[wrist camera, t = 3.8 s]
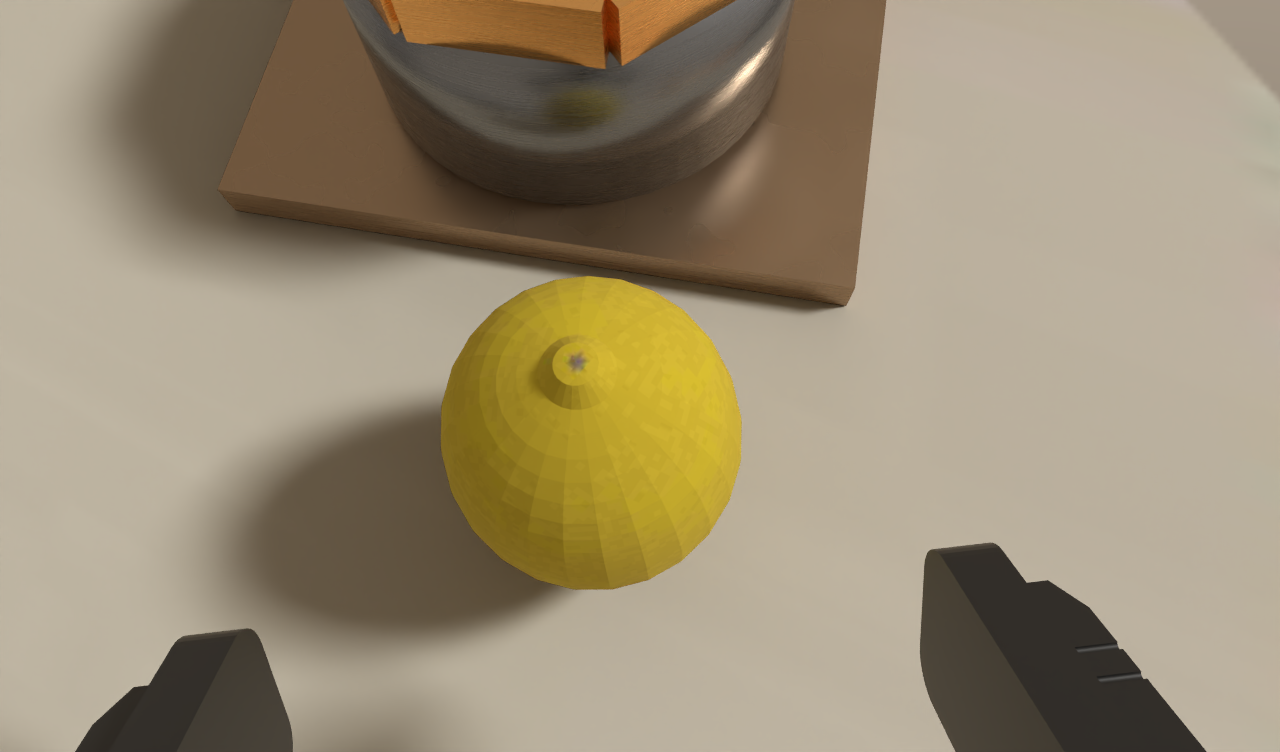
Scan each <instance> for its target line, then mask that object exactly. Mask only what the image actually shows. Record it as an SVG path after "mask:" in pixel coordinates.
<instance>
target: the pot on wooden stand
mask: <svg viewBox="0 0 1280 752" xmlns="http://www.w3.org/2000/svg"><path fill="white" fill-rule="evenodd" d="M885 7H886V0H293V2H292V5H291V7H290V10H289V12H288V15H287V17H286V20H285V22H284V25H283V27H282V30H281V32H280V35H279V37H278V40H277V42H276V45H275V47H274V50H273V52H272V55H271V57H270V60H269V62H268V65H267V67H266V70H265V72H264V75H263V77H262V80H261V82H260V85H259V87H258V90H257V92H256V95H255V97H254V99H253V102H252V104H251V107H250V109H249V112H248V114H247V117H246V119H245V122H244V124H243V127H242V129H241V132H240V134H239V137H238V139H237V142H236V144H235V147H234V149H233V152H232V154H231V157H230V159H229V162H228V164H227V167H226V169H225V172H224V174H223V177H222V179H221V182H220V184H219V187H218V189H217V190H218V191H219V192H220V193H221V194H222V195H223V197H224V198H225V199H226V200H227V201H228V202H229V203H230V205H231V206H232V207H233V208H234V209H235V210H237V211H244V212H250V213H256V214H263V215H269V216H276V217H282V218H288V219H295V220H301V221H308V222H314V223H320V224H327V225H333V226H340V227H346V228H352V229H359V230H365V231H372V232H378V233H384V234H391V235H397V236H404V237H410V238H416V239H423V240H429V241H436V242H442V243H448V244H455V245H461V246H468V247H474V248H480V249H487V250H493V251H500V252H506V253H512V254H519V255H525V256H532V257H538V258H544V259H551V260H557V261H563V262H570V263H576V264H583V265H589V266H595V267H602V268H608V269H615V270H621V271H627V272H634V273H640V274H647V275H653V276H659V277H666V278H672V279H679V280H685V281H691V282H698V283H704V284H711V285H717V286H723V287H730V288H736V289H743V290H749V291H755V292H762V293H768V294H775V295H781V296H787V297H794V298H800V299H807V300H813V301H819V302H826V303H832V304H839V305H845V306H846V305H847V303H848V301H849V299H850V297H851V295H852V293H853V291H854V289H855V282H856V273H857V264H858V255H859V245H860V236H861V227H862V218H863V209H864V200H865V190H866V181H867V172H868V163H869V154H870V145H871V135H872V126H873V117H874V108H875V99H876V90H877V80H878V71H879V62H880V53H881V44H882V35H883V25H884V16H885Z"/></svg>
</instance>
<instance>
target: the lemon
mask: <svg viewBox="0 0 1280 752" xmlns="http://www.w3.org/2000/svg"><path fill="white" fill-rule="evenodd" d="M741 424H742V422H741V415H740V411H739V407H738V403H737V398H736V394H735V390H734V386H733V382H732V379H731V376H730V374H729V372H728V370H727V368H726V367H725V365H724V363H723V361H722V359H721V357H720V355H719V354H718V352H717V350H716V348H715V346H714V344H713V342H712V341H711V339H710V338H709V337H708V336H707V335H706V334H705V333H704V331H703V330H702V329H701V328H700V327H699V326H698V325H697V324H696V323H695V322H694V321H693V320H692V319H691V318H690V317H689V316H688V314H687V313H686V312H685V311H684V310H682V309H681V308H679V307H678V306H676V305H675V304H673V303H671V302H670V301H668V300H667V299H665V298H664V297H662V296H661V295H659V294H658V293H656V292H654V291H652V290H649V289H647V288H644V287H641V286H638V285H635V284H632V283H630V282H627V281H624V280H621V279H613V278H603V277H593V276H583V277H575V278H567V279H559V280H553V281H551V282H548V283H545V284H542V285H539V286H537V287H534V288H531V289H528V290H525V291H523V292H521V293H520V294H518V295H517V296H515V297H514V298H512V299H511V300H509V301H508V302H506V303H504V304H503V305H501V306H500V307H498V308H497V309H495V310H494V311H493V312H492V314H491V315H490V316H489V317H488V318H487V319H486V320H485V321H484V322H483V323H482V324H481V325H480V326H479V327H478V328H477V329H476V330H475V331H474V332H473V333H472V335H471V336H470V337H469V339H468V341H467V343H466V344H465V346H464V348H463V349H462V351H461V353H460V355H459V356H458V358H457V360H456V361H455V363H454V365H453V367H452V370H451V374H450V377H449V381H448V384H447V388H446V391H445V395H444V399H443V402H442V409H441V452H442V457H443V461H444V465H445V469H446V473H447V477H448V481H449V485H450V489H451V492H452V494H453V496H454V498H455V500H456V502H457V503H458V505H459V507H460V509H461V511H462V512H463V514H464V516H465V518H466V519H467V521H468V523H469V525H470V526H471V528H472V529H473V531H474V532H475V533H476V534H477V535H478V536H479V537H480V538H481V539H482V540H483V541H484V542H485V543H486V544H487V545H488V546H489V547H490V548H491V549H492V550H493V551H494V552H495V553H496V554H497V555H498V556H499V557H500V558H501V559H502V560H504V561H505V562H507V563H509V564H511V565H512V566H514V567H516V568H518V569H519V570H521V571H523V572H525V573H526V574H528V575H530V576H531V577H533V578H535V579H537V580H540V581H544V582H548V583H551V584H555V585H559V586H563V587H567V588H570V589H576V590H577V589H615V588H619V587H623V586H627V585H631V584H635V583H638V582H642V581H646V580H649V579H651V578H652V577H654V576H656V575H658V574H660V573H661V572H663V571H665V570H667V569H668V568H670V567H672V566H674V565H676V564H677V563H679V562H681V561H682V560H683V559H684V558H685V557H686V556H687V555H688V554H689V553H690V552H691V551H692V550H693V549H694V548H695V547H696V546H697V545H698V544H699V543H701V542H702V541H703V540H704V539H705V538H706V537H707V536H708V535H709V533H710V531H711V530H712V528H713V526H714V525H715V523H716V522H717V520H718V518H719V517H720V515H721V513H722V512H723V510H724V508H725V507H726V505H727V504H728V502H729V500H730V496H731V493H732V490H733V486H734V483H735V479H736V476H737V473H738V469H739V466H740V461H741Z"/></svg>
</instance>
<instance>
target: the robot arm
mask: <svg viewBox="0 0 1280 752" xmlns="http://www.w3.org/2000/svg"><path fill="white" fill-rule="evenodd" d="M920 658H921V666H922V672H923V677H924V681H925V685H926V688H927V691H928V694H929V697H930V700H931V702H932V704H933V706H934V709H935V711H936V713H937V715H938V717H939V719H940V721H941V723H942V725H943V727H944V729H945V731H946V733H947V735H948V737H949V739H950V741H951V743H952V745H953V747H954V749H955V751H956V752H1206V751H1205V749H1204V748H1203V747H1202V746H1201V744H1200V743H1199V742H1198V741H1197V739H1196V738H1195V737H1194V736H1193V735H1192V733H1191V732H1190V731H1189V730H1188V728H1187V727H1186V726H1185V725H1184V723H1183V722H1182V721H1181V720H1180V719H1179V717H1178V716H1177V715H1176V714H1175V712H1174V711H1173V710H1172V709H1171V707H1170V706H1169V705H1168V704H1167V703H1166V701H1165V700H1164V699H1163V698H1162V696H1161V695H1160V694H1159V693H1158V691H1157V690H1156V689H1155V688H1154V687H1153V685H1152V684H1151V683H1150V682H1149V680H1148V679H1143V678H1142V676H1141V671H1140V669H1139V668H1138V667H1137V666H1136V664H1135V663H1134V662H1133V661H1132V659H1131V658H1130V657H1129V656H1128V655H1127V653H1126V652H1125V651H1124V650H1123V649H1119V648H1118V645H1117V641H1116V640H1115V639H1114V637H1113V636H1112V635H1111V634H1110V632H1109V631H1108V630H1107V629H1106V628H1105V626H1104V625H1103V624H1102V623H1101V621H1100V620H1099V619H1098V618H1097V616H1096V615H1095V614H1094V613H1093V612H1092V610H1091V609H1090V608H1089V607H1088V606H1086V605H1085V604H1083V603H1082V602H1080V601H1078V600H1077V599H1075V598H1074V597H1072V596H1071V595H1069V594H1068V593H1066V592H1065V591H1063V590H1062V589H1060V588H1059V587H1057V586H1056V585H1054V584H1053V583H1051V582H1050V581H1048V580H1047V581H1039V582H1031V583H1026V581H1025V580H1024V579H1023V577H1022V576H1021V575H1020V573H1019V572H1018V571H1017V569H1016V568H1015V567H1014V565H1013V564H1012V563H1011V561H1010V560H1009V559H1008V557H1007V556H1006V554H1005V553H1004V552H1003V551H1002V549H1001V548H1000V547H999V546H998V545H996V544H994V543H983V544H975V545H966V546H958V547H949V548H941V549H932V550H930V551H929V552H928V553H927V555H926V559H925V566H924V583H923V601H922V620H921V638H920ZM75 752H293V741H292V731H291V726H290V722H289V719H288V716H287V713H286V710H285V707H284V705H283V702H282V699H281V696H280V693H279V691H278V688H277V685H276V682H275V679H274V677H273V674H272V671H271V668H270V665H269V663H268V660H267V657H266V654H265V651H264V649H263V646H262V643H261V641H260V638H259V637H258V635H257V634H256V633H255V632H254V631H253V630H251V629H239V630H230V631H222V632H213V633H205V634H196V635H188V636H183V637H181V638H180V639H178V640H177V641H176V642H175V644H174V645H173V646H172V648H171V649H170V651H169V653H168V654H167V656H166V658H165V659H164V661H163V663H162V664H161V666H160V668H159V669H158V671H157V673H156V674H155V676H154V678H153V679H152V681H151V683H150V684H149V685H148V686H140V687H134V688H132V689H131V690H130V691H129V692H128V693H127V694H126V695H125V696H124V697H123V698H122V699H120V700H119V701H118V702H117V703H116V704H115V705H114V706H113V707H112V708H111V709H109V710H108V711H107V712H106V713H105V714H104V715H103V716H102V717H101V718H100V719H98V720H97V721H96V722H95V723H94V724H93V725H92V727H91V728H90V730H89V731H88V733H87V734H86V736H85V737H84V739H83V741H82V742H81V744H80V745H79V747H78V748H77V750H76V751H75Z"/></svg>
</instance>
